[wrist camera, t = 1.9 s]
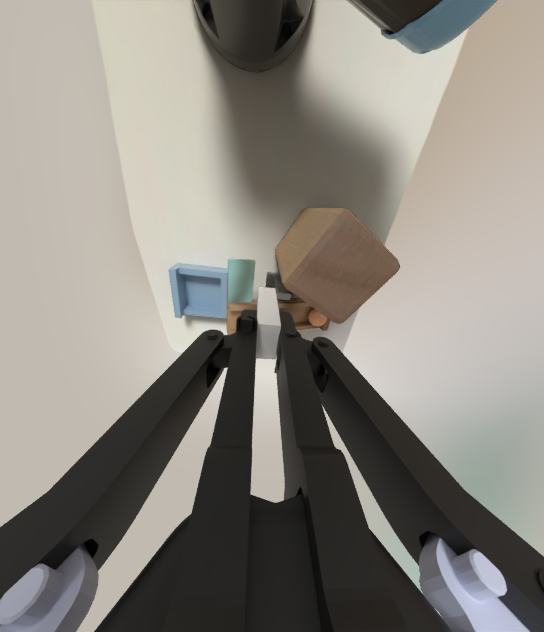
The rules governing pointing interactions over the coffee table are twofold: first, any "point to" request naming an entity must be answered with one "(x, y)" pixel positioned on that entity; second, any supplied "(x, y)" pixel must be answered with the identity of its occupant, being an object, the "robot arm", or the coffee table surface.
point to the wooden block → (333, 261)
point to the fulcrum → (278, 286)
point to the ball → (317, 318)
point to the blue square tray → (199, 290)
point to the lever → (242, 299)
